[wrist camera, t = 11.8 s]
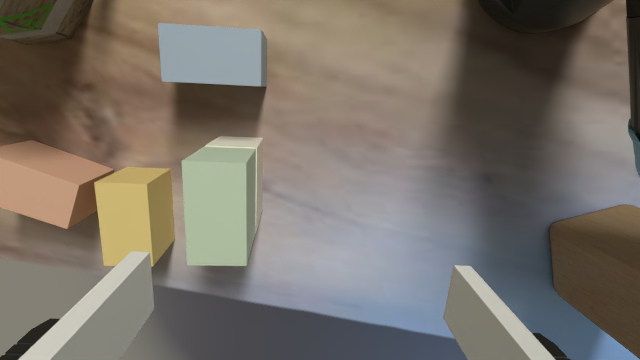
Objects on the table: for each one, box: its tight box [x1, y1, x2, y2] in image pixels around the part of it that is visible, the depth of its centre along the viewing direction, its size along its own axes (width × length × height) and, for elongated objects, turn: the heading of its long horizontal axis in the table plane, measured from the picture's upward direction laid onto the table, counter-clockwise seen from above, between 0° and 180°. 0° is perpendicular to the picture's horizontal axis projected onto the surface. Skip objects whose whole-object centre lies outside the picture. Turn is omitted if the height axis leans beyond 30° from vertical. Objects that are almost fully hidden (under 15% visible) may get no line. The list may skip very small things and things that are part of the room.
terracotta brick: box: [0, 140, 114, 229], centre depth 32 cm, size 8×4×6 cm, turn 67°
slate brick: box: [158, 23, 267, 87], centre depth 30 cm, size 8×4×6 cm, turn 87°
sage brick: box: [182, 146, 256, 266], centre depth 28 cm, size 8×4×6 cm, turn 177°
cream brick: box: [205, 136, 263, 231], centre depth 33 cm, size 8×4×6 cm, turn 177°
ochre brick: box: [94, 167, 175, 266], centre depth 34 cm, size 8×4×6 cm, turn 177°
